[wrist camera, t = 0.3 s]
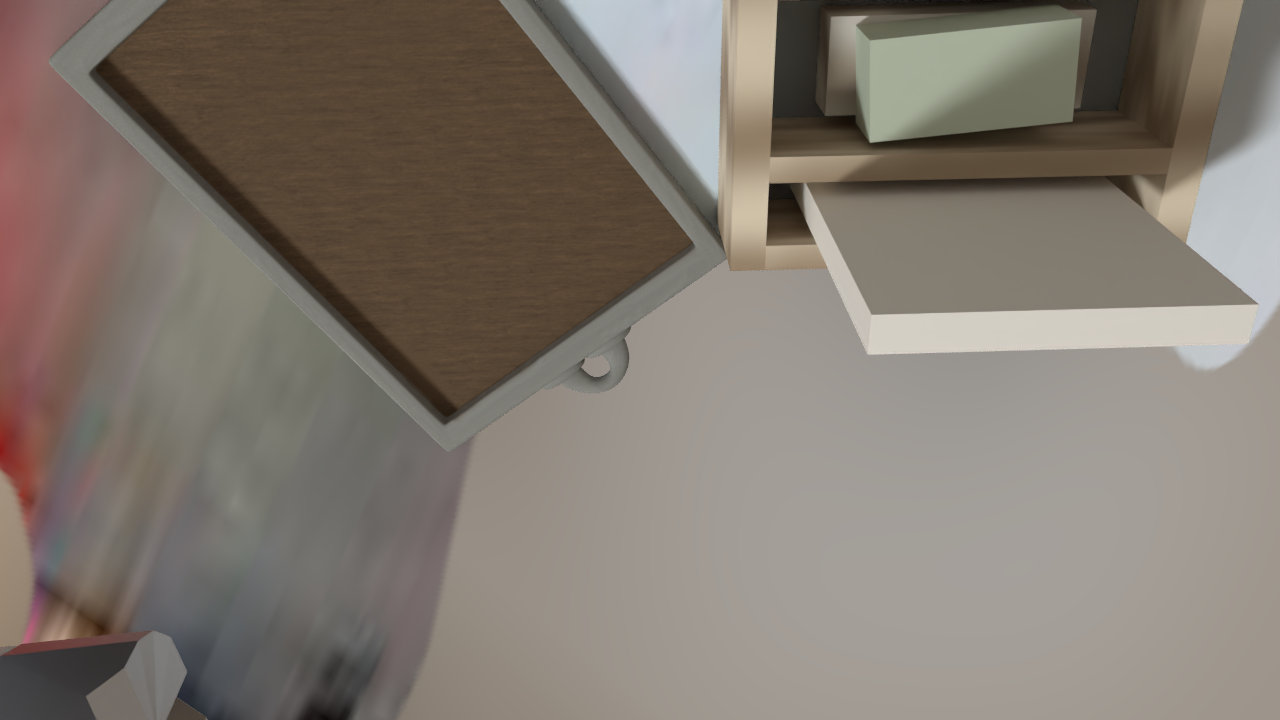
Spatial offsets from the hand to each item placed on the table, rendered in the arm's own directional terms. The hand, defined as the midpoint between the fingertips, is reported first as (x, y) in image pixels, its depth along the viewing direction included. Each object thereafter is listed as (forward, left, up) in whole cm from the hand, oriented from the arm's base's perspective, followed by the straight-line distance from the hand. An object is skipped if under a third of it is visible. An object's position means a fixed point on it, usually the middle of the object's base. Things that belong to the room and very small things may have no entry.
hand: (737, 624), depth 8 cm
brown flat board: (+13, -9, -48) cm, 51 cm away
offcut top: (+7, +15, -45) cm, 48 cm away
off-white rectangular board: (+13, +16, -47) cm, 51 cm away
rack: (+9, +16, -47) cm, 51 cm away
